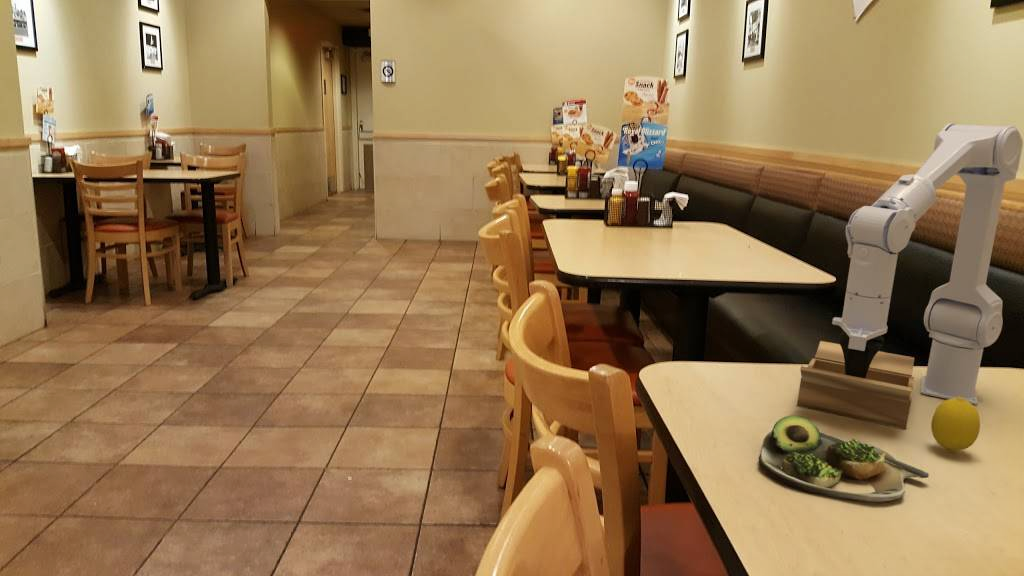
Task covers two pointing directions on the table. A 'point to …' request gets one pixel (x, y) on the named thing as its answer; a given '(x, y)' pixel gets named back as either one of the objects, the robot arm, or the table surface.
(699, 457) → the table surface
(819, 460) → the avocado toast plate
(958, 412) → the lemon
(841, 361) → the panel
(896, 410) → the carton
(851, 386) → the flap front
